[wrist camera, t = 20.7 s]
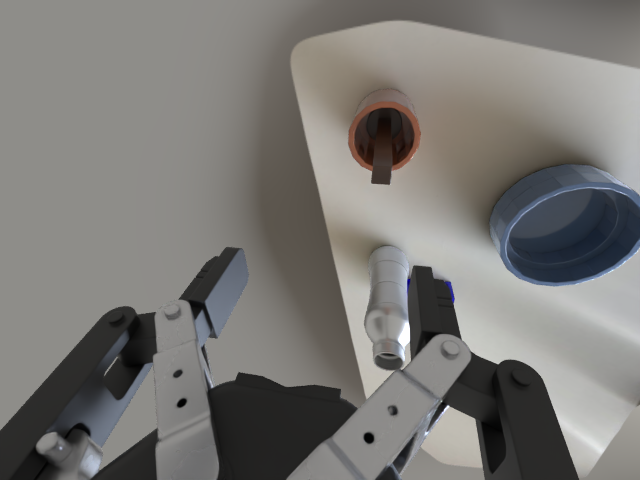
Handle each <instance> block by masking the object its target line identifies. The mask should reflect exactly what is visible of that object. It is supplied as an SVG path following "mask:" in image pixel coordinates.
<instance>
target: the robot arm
mask: <svg viewBox="0 0 640 480" xmlns="http://www.w3.org/2000/svg"><path fill="white" fill-rule="evenodd" d="M247 281H248V269H247V264H246V259H245V254H244V251H243V249H242V248H232V247H226V248H225V249H224V250H223V252H222V253H221V255H220V256H219V257H218V256H215V257H214V258H212V259H211V260H209V261H208V262H206V264H205V265H204V266H203V268H202V269H201V271H200V272H199V273H198V274H197V276H196V278H194V280H193V281H192V282H191V283H190V285H189V286H188V287H187V289H186V290H185V291H184V293H183V294H182V295H181V297H180V298H179V299H178V300H174V301H170V302H168V303H166V304H164V305H163V306H161V307H160V308H159V309H158V311H157V312H153V313H146V314H139V315H137V313H136V312H135V310H134V309H133V308H131V307H128V306H123V307H118V308H115V309H113V310H111V311H109V312H107V313H106V314H105V315H103V316H102V317H101V318H100V320H99V321H98V322H97V323H96V324H95V325H94V326H93V327H92V329H91V330H90V331H89V332H88V333H87V334H86V335H85V337H84V338H83V339H82V340H81V341H80V342H79V343H78V344H77V345H76V347H75V348H74V349H73V350H72V351H71V352H70V353H69V354H68V356H67V357H66V358H65V359H64V360H63V361H62V362H61V363H60V364H59V366H58V367H57V368H56V369H55V370H54V371H53V373H51V375H50V376H49V377H48V378H47V379H46V380H45V381H44V382H43V383H42V385H41V386H40V387H39V388H38V389H37V390H36V391H35V392H34V394H33V395H32V396H31V397H30V398H29V399H28V400H27V401H26V403H25V404H24V405H23V406H22V407H21V408H20V409H19V410H18V412H17V413H16V414H15V415H14V416H13V417H12V418H11V420H9V422H8V423H7V424H6V425H5V426H4V427H3V428H2V429H1V431H0V480H402V479H401V478H400V476H401V474H402V473H403V471H404V470H405V469H406V467H407V466H408V465H409V463H410V462H411V461H412V459H413V458H414V456H415V455H416V453H417V451H418V450H419V448H420V446H421V445H422V443H423V441H424V440H425V438H426V437H427V435H428V434H429V433H430V431H431V430H432V429H433V427H434V426H435V425H436V423H437V422H438V420H439V419H440V418H441V416H442V415H443V414H444V412H445V411H446V410H447V408H448V407H449V406H450V407H452V408H454V409H456V410H458V411H460V412H463V413H465V414H467V415H469V416H471V417H473V418H475V420H476V426H477V432H478V439H479V445H480V451H481V458H482V464H483V470H484V477H485V480H579V478H578V475H577V472H576V470H575V467H574V464H573V461H572V458H571V456H570V453H569V450H568V447H567V445H566V442H565V439H564V436H563V434H562V431H561V428H560V425H559V422H558V420H557V417H556V414H555V411H554V409H553V406H552V403H551V400H550V398H549V395H548V392H547V389H546V387H545V384H544V381H543V379H542V378H541V376H540V375H539V374H538V373H537V372H536V371H535V370H534V369H533V368H531V367H530V366H528V365H527V364H525V363H523V362H520V361H517V360H504V361H502V362H501V363H500V364H499V365H498V364H496V363H493V362H491V361H488V360H486V359H483V358H481V357H479V356H477V355H475V354H474V353H473V352H471V351H470V349H469V347H468V346H467V345H466V343H465V342H463V341H462V339H461V335H460V331H459V326H458V322H457V318H456V313H455V309H454V304H453V300H452V296H451V291H450V288H449V287H448V286H447V284H446V283H445V282H444V281H443V280H439V279H433V273H432V268H431V267H426V266H415V265H414V266H413V269H412V274H411V279H410V284H409V289H408V298H407V305H408V320H409V336H410V351H411V362H410V363H409V364H408V365H407V366H406V367H405V368H404V369H403V370H401V369H397V370H395V371H394V372H393V373H392V374H391V375H390V376H389V377H388V378H387V379H386V380H385V381H384V383H383V384H382V385H381V386H380V387H379V388H378V389H377V390H376V391H375V392H374V393H373V394H372V395H371V396H370V397H369V398H368V399H367V400H366V401H365V402H364V403H363V405H362V406H361V407H360V408H359V409H358V408H357V407H355V406H354V405H353V404H351V403H350V402H348V401H347V400H345V399H343V398H341V389H337V388H331V387H325V386H318V385H307V386H296V387H284V386H282V385H280V384H278V383H276V382H274V381H272V380H270V379H267V378H265V377H263V376H258V375H252V374H245V373H240V372H239V373H238V375H237V377H236V380H235V381H229V382H225V383H222V384H219V385H217V386H215V382H214V379H213V375H212V370H211V367H210V362H209V358H208V353H207V349H206V346H205V342H206V340H207V338H208V337H210V338H218V336H219V334H220V333H221V331H222V329H223V327H224V325H225V324H226V322H227V320H228V318H229V316H230V314H231V312H232V311H233V309H234V307H235V305H236V303H237V301H238V299H239V298H240V296H241V294H242V292H243V290H244V288H245V286H246V284H247ZM116 357H118V359H117V360H116V361H115V363H114V364H113V365H112V367H111V368H110V369H109V371H108V372H107V373H106V375H105V376H104V374H105V371H106V370H107V369H108V367H109V366H110V365H111V363H112V362H113V361H114V359H115V358H116ZM152 365H153V368H154V383H155V399H156V414H157V429H155V430H154V431H152V432H151V433H150V434H148V435H147V436H146V437H144V438H143V439H142V440H140V441H139V442H138V443H136V444H135V445H134V446H132V447H131V448H130V449H128V450H127V451H126V452H124V453H123V454H121V455H120V456H119V457H117V458H116V459H115V460H113V461H112V462H111V463H109V464H108V465H107V466H105V467H104V468H103V469H101V470H100V471H99V466H100V464H101V461H102V456H103V455H102V454H103V452H102V449H101V448H102V446H103V445H104V443H105V441H106V440H107V438H108V437H109V435H110V433H111V432H112V430H113V429H114V427H115V425H116V424H117V422H118V420H119V419H120V417H121V416H122V414H123V412H124V411H125V409H126V408H127V406H128V404H129V403H130V401H131V399H132V398H133V396H134V395H135V393H136V391H137V390H138V388H139V386H140V385H141V383H142V382H143V380H144V378H145V376H146V375H147V374H148V372H149V370H150V369H151V367H152ZM103 377H104V378H103Z"/></svg>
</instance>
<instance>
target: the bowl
mask: <svg viewBox="0 0 640 480" xmlns="http://www.w3.org/2000/svg"><path fill="white" fill-rule="evenodd" d="M489 225H490V236H491V238H492V240H493V242H494V244H495V246H496V248H497V251H498V253H499V255H500V257H501V259H502V261H503V262H504V264H505V266H506V268H507V269H508V270H509V271H510V272H511V273H513V274H514V275H515V276H516V277H518V278H519V279H522V280H525V281H527V282H530V283H533V284H536V285H546V286H565V285H575V284H578V283H582V282H585V281H589V280H592V279H596V278H598V277H600V276H602V275H604V274H606V273H608V272H610V271H612V270H614V269H616V268H618V267H619V266H621V265H622V264H623V263H624V262H626V261H627V260H628V259H629V258H631V257H632V256H633V255H634V254H635V253H636V252H637V251H638V249H639V248H640V196H639V195H638V194H637V193H636V192H635V191H634V190H633V189H631V188H630V187H628V186H627V185H625V184H624V183H622V182H621V181H619V180H618V179H616V178H615V177H613V176H612V175H610V174H609V173H607V172H605V171H603V170H600V169H598V168H595V167H592V166H590V165H574V164H565V165H560V166H555V167H551V168H546V169H542V170H540V171H538V172H536V173H533V174H531V175H529V176H527V177H525V178H523V179H521V180H520V181H519V182H517V183H516V184H515V185H514V186H512V187H511V188H510V189H508V190H507V191H506V192H505V193H504V194H503V196H502V197H501V198H500V200H499V201H498V202H497V204H496V205H495V206H494V209H493V212H492V215H491V218H490V220H489Z"/></svg>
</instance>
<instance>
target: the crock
mask: <svg viewBox="0 0 640 480" xmlns="http://www.w3.org/2000/svg"><path fill="white" fill-rule="evenodd" d="M378 108H394V109H396V110H398V111H399V113H400V115H401V118H402V128H401V131H400V133H399V134H398V135H397V137H396V138H394V139H393V140H392V171H393V170H397V169H399V168H401V167H402V166H404V165H405V164H406V163H407V162H409V161H410V160H411V159H412V157H413V156H414V154H415V152H416V151H417V149H418V147H419V141H420V135H421V132H420V128H419V124H418V120H417V117H416V113H415V110H414V107H413V104H412V103H411V101H410V100H409V99H408V97H407V96H406V95H404V94H403V93H401V92H400V91H397V90H394V89H380V90H377V91H374V92H372V93H371V94H369V95H368V96H367V97H365V98H364V100H363V101H362V102H361V103H360V104H359V107H358V109H357V111H356V113H355V116H354V119H353V121H352V124H351V126H350V129H349V139H348V144H349V148H350V151H351V153H352V156H353V158H354V159H355V160H356V161H357V162H358V163H359V164H360V165H361V166H362V167H364V168H366V169H368V170H370V171H372V169H373V159H374V151H375V142H376V141H375V140H374V139H372V138H371V137H370V136H369V134H368V132H367V127H366V124H367V119H368V116H369V114H370V113H371V111H373V110H376V109H378Z"/></svg>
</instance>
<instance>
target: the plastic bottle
mask: <svg viewBox="0 0 640 480" xmlns="http://www.w3.org/2000/svg"><path fill="white" fill-rule="evenodd" d="M368 270H369V275H370V286H371V290H370V298H369V303H368V307H367V311H366V315H365V320H364V326H365V330H366V333H367V335H368V337H369V338H370V340H371V341H372V342H373V362H374V364H375V365H376V366H377V367H378V368H380V369H383V370H386V371H395V370H397V369H401V368H402V367H403V366H404V362H405V361H404V356H405V348H404V346H406V345H407V343H408V342H409V341H410V336H409V320H408V305H407V298H408V296H407V278H408V274H409V263H408V260H407V258H406V256H405V254H404V253H403V252H402V251H401V250H399V249H397V248H395V247H392V246H383V247H380V248H378V249H376V250H375V251H374V252H373V253H372V254H371V256H370V259H369V262H368Z"/></svg>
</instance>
